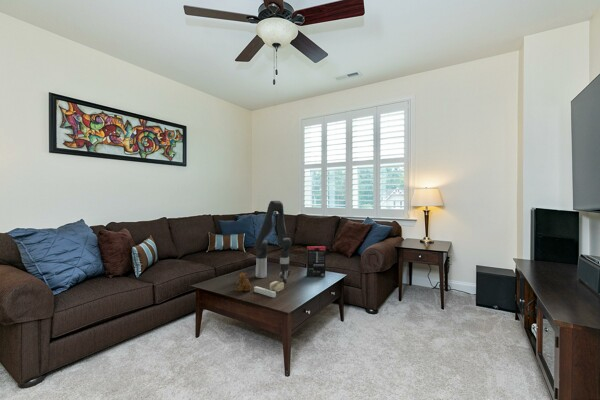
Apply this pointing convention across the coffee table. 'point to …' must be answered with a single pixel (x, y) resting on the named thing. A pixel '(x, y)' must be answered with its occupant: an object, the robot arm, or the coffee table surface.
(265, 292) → the board
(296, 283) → the coffee table surface
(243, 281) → the stuffed squirrel
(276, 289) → the maple block
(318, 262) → the graphics card box
